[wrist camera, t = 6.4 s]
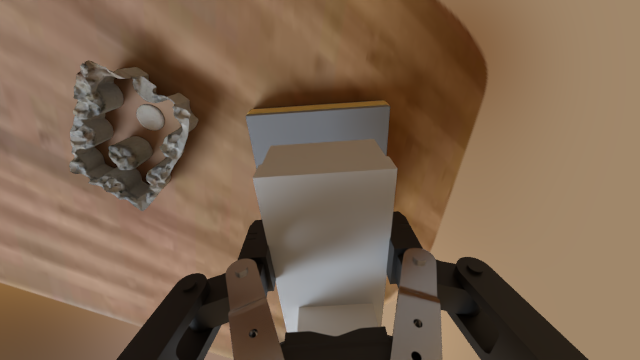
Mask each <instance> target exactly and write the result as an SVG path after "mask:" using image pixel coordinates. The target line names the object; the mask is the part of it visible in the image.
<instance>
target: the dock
mask: <svg viewBox="0 0 640 360" xmlns="http://www.w3.org/2000/svg"><path fill="white" fill-rule="evenodd" d="M389 115H390V106H389V104H388V103H387V102H385V101H384V100H383V101H382V100H377V101H362V102H348V103H333V104H318V105H304V106H289V107H275V108H260V109H251V110H250V111H249V112H248V114H247V115H246V120H247V125H248V130H249V135H250V139H251V144H252V149H253V154H254V158H255V163H256V168H258V166H259V165H262V163H263V161H264V159H265V157H266V154H267V152H268V150H269V148H270V146H275V145H290V144H305V143H320V142H336V141H351V140H366V139H374V140H375V141H376V143H377V144H378V146H379V147H380V149H381V150H382V152H383V153H384V155H385V156H386V154H387V141H388V128H389Z"/></svg>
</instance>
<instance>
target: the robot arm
mask: <svg viewBox="0 0 640 360" xmlns="http://www.w3.org/2000/svg"><path fill="white" fill-rule="evenodd" d="M386 273H387V276H388V279H389V282H390V284H397V285H398V288H399V290H398V298H397V305H396V313H395V321H394V329H393V336H389V335H387V332H386V329H385V327H368V328H359V329H356V330H353V331H350V332H348V333H345V334H342V335H339V336H331V335H326V334H321V333H317V332H312V331H303V332H286V334H285V341H284V342H281V343H279V339H278V336H277V333H276V329H275V326H274V322H273V319H272V315H271V312H270V308H269V305H268V302H267V298H266V297H267V292H268V291H274V287H275V281H276V277H275V272H274V268H273V263H272V259H271V254H270V250H269V245H268V244H267V240H266V235H265V231H264V226H263V222H262V220H255V221H254V222H253V224H252V225H251V226H250V227H249V230H248V233H247V235H246V238H245V241H244V244H243V247H242V249H241V252H240V255H239V258H238V261H235V262H234V263H232V264H231V265H230V266H229V267H228V269H227V271H226V273H224V274H222V275H219V276H216V277H213V278H210V279H207V278H206V277H205V275H203V274H200V273H195V274H191V275H188V276H186V277H184V278H182V279H181V280H180V281H179V282H178V283H177V284H176V285H175V286H174V287H173V289H172V290H171V291H170V292H169V294H168V295H167V296H166V297H165V299H164V300H163V301H162V303H161V304H160V305H159V306H158V308H157V309H156V310H155V311H154V313H153V314H152V315H151V316H150V318H149V319H148V320H147V322H146V323H145V324H144V325H143V327H142V328H141V329H140V330H139V332H138V333H137V334H136V336H135V337H134V338H133V339H132V341H131V342H130V343H129V344H128V346H127V347H126V348H125V349H124V351H123V352H122V353H121V354H120V356H119V357H118V358H117V360H204V358H205V356H206V354H207V352H208V350H209V348H210V346H211V344H212V342H213V341H214V339H215V337H216V335H217V333H218V331H219V329H220V327H221V325H222V324H225V323H228V322H229V325H230V333H231V341H232V349H233V357H234V360H442V340H441V339H442V337H441V310H445V311H447V312H448V314H449V315H450V317H451V318H452V320H453V321H454V322H455V324H456V325H457V327H458V328H459V329H460V331H461V332H462V333H463V335H464V336H465V338H466V339H467V341H468V342H469V343H470V345H471V346H472V348H473V349H474V350H475V352H476V353H477V355H478V356H479V357H480V359H481V360H588V359H587V358H586V357H585V356H584V355H583V354H582V353H581V352H580V351H579V350H578V349H576V347H574V346H573V345H572V344H571V343H570V342H569V341H568V340H567V339H566V338H565V337H564V336H563V335H562V334H561V333H560V332H559V331H557V330H556V329H555V328H554V327H553V326H552V325H551V324H550V323H549V322H548V321H547V320H546V319H545V318H544V317H543V316H541V315H540V314H539V313H538V312H537V311H536V310H535V309H534V308H533V307H532V306H531V305H530V304H529V303H528V302H527V301H526V300H525V299H523V298H522V297H521V296H520V295H519V294H518V293H517V292H516V291H515V290H514V289H513V288H512V287H511V286H510V285H509V284H508V283H506V282H505V281H504V280H503V279H502V278H501V277H500V276H499V275H498V274H497V273H496V272H495V271H494V270H493V269H492V268H491V267H489V266H488V265H487V264H486V263H484V262H482V261H480V260H479V259H476V258H471V257H463V258H460V259H459V260H458V261H457V263H456V264H453V263H447V262H442V261H439V260H436V259H435V258H434V256H433V255H432V254H431V253H430V252H428V251H426V250H424V249H423V248H422V246H421V245H420V243H419V241H418V239H417V237H416V235H415V234H414V232H413V230H412V228H411V226H410V225H409V223H408V221H407V219H406V217H405V216H404V215H402V214H401V213H400V212H399V211H397V212H393V218H392V227H391V237H390V240H389V250H388V260H387V270H386Z"/></svg>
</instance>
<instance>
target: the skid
mask: <svg viewBox="0 0 640 360" xmlns="http://www.w3.org/2000/svg"><path fill="white" fill-rule="evenodd" d="M396 179H397V167H396V166H395V164H394V163H393V161H392V160H391V159H390V157H389V156H385V155H384V153H383V152H382V150H381V149H380V147H379V146H378V144H377V143H376V141H375V140H374V139H366V140H351V141H336V142H320V143H305V144H290V145H275V146H270V148H269V150H268V152H267V154H266V157H265V159H264V161H263V163H262V165H259V166H258V168H257V170H256V172H255V174H254V177H253V181H254V186H255V190H256V195H257V199H258V204H259V208H260V213H261V217H262V222H263V226H264V231H265V235H266V240H267V244H268V245H269V250H270V254H271V259H272V263H273V268H274V272H275V277H276V285H277V289H278V294H279V298H280V303H281V307H282V312H283V317H284V321H285V326H286V330H287V332H297V327H298V310H299V307H316V306H333V305H350V304H367V303H373V306H374V310H375V315H376V319H377V323H378V327H381V324H382V314H383V305H384V295H385V285H386V276H387V273H386V270H387V260H388V250H389V240H390V237H391V227H392V218H393V208H394V198H395V189H396Z"/></svg>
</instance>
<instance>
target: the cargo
mask: <svg viewBox="0 0 640 360" xmlns="http://www.w3.org/2000/svg"><path fill="white" fill-rule="evenodd" d="M368 327H378V323H377V319H376V315H375V310H374V306H373V303H367V304H350V305H333V306H316V307H299V310H298V327H297V332H303V331H312V332H317V333H321V334H326V335H331V336H339V335H342V334H345V333H348V332H350V331H353V330H356V329H359V328H368Z"/></svg>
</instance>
